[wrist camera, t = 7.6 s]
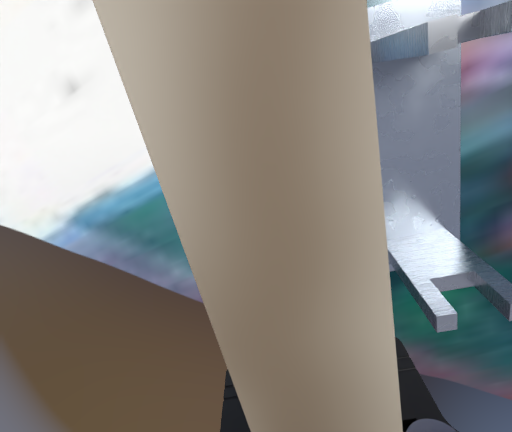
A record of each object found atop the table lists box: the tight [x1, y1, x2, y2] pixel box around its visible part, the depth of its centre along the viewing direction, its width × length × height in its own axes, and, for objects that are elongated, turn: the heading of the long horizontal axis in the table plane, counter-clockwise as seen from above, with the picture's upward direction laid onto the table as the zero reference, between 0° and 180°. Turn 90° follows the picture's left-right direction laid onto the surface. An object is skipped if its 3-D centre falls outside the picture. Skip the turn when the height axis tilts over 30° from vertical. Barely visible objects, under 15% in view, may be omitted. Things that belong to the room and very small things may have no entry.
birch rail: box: [93, 0, 403, 432], centre depth 9 cm, size 3×26×3 cm, turn 13°
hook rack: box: [367, 0, 512, 332], centre depth 27 cm, size 10×27×14 cm, turn 14°
